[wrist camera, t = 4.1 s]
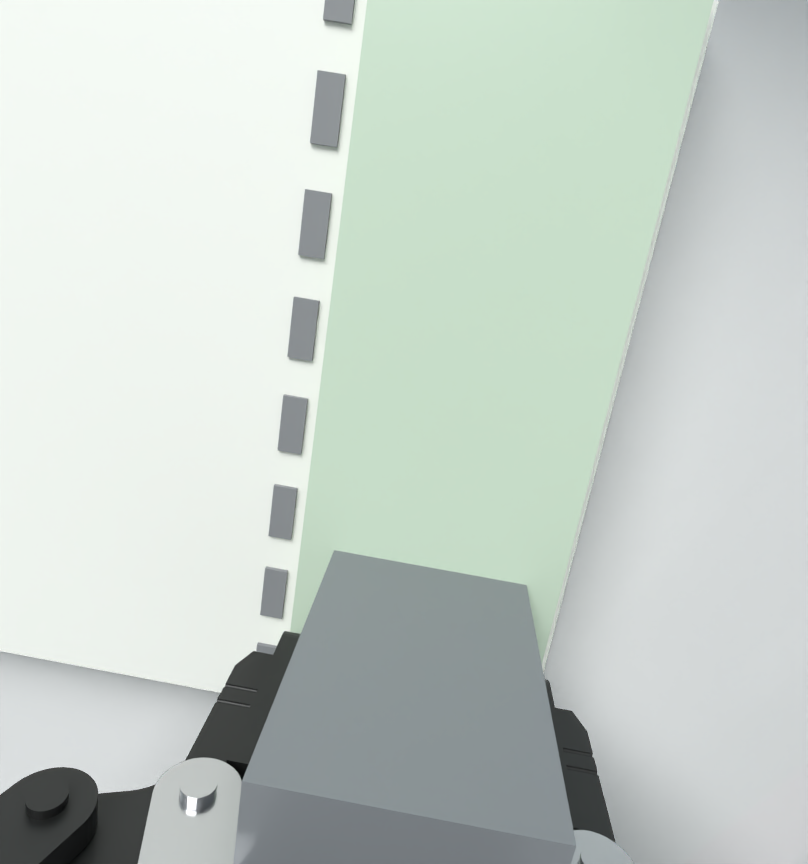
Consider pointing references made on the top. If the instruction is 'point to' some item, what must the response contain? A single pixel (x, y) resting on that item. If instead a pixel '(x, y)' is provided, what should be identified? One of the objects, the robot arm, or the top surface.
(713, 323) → the top surface
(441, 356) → the stub
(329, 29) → the ticket board
